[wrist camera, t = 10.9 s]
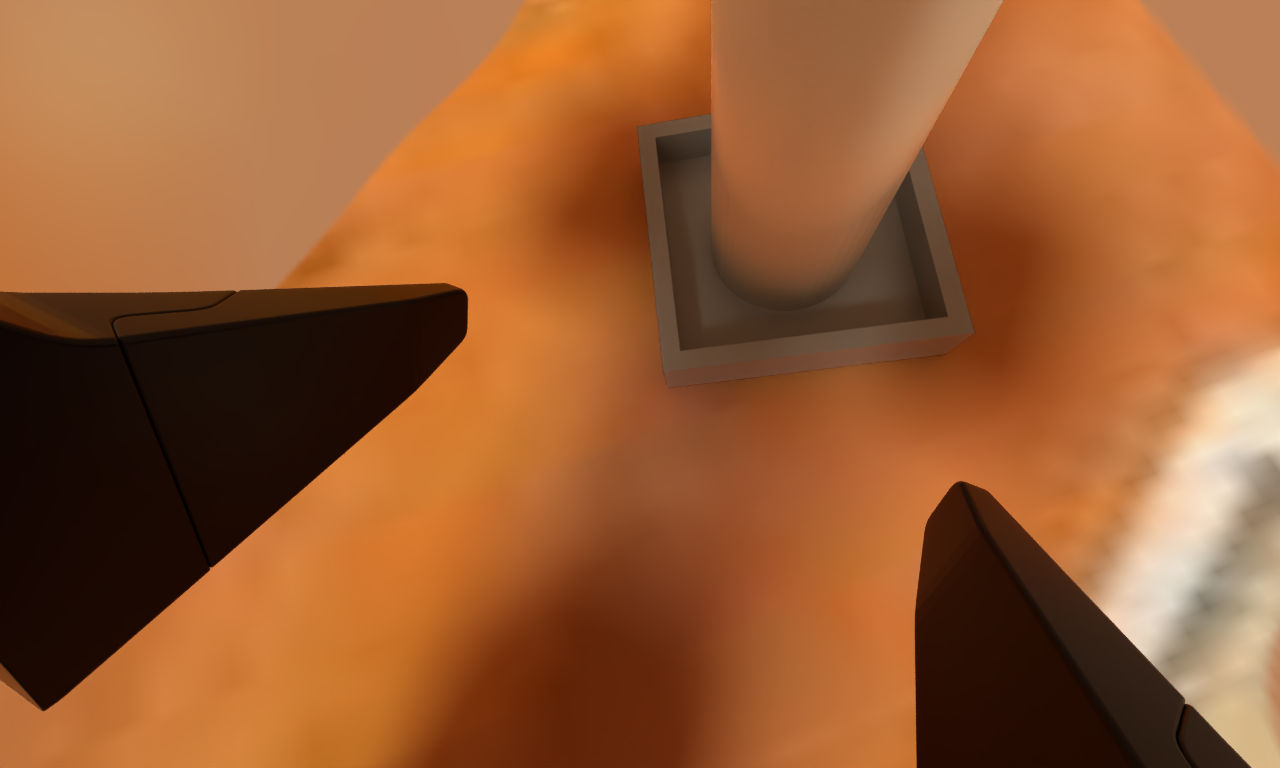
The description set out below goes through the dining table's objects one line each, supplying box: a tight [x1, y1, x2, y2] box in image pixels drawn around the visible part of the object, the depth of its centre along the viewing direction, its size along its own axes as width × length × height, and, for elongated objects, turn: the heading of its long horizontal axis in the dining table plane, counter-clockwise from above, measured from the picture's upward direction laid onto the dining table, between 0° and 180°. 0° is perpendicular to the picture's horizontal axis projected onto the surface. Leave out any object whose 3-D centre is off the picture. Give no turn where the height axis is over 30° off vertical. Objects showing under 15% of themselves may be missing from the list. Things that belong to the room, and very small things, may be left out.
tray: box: [637, 114, 975, 388], centre depth 18 cm, size 9×9×2 cm
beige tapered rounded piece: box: [711, 0, 1003, 311], centre depth 12 cm, size 5×5×13 cm
